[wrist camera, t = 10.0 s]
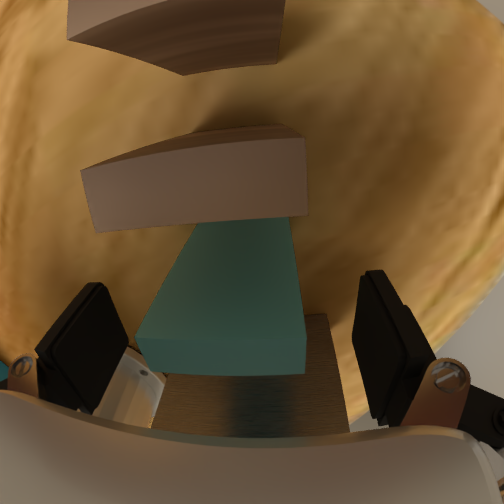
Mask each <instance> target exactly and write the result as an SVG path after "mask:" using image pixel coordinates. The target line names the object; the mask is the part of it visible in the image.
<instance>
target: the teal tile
mask: <svg viewBox="0 0 504 504" xmlns="http://www.w3.org/2000/svg"><path fill="white" fill-rule="evenodd" d="M134 338H135V340H136V342H137V345H138V347H139V349H140V351H141V353H142V355H143V357H144V359H145V361H146V363H147V365H148V367H149V369H150V371H152V372H163V373H175V374H191V375H217V376H264V375H289V374H305V361H306V340H307V336H306V329H305V321H304V314H303V306H302V299H301V292H300V286H299V279H298V272H297V266H296V260H295V253H294V247H293V241H292V235H291V229H290V223H289V218H288V217H276V218H260V219H245V220H231V221H217V222H205V223H198V224H197V226H196V227H195V229H194V231H193V232H192V234H191V236H190V237H189V239H188V241H187V242H186V244H185V246H184V248H183V249H182V251H181V253H180V254H179V256H178V258H177V260H176V261H175V263H174V265H173V267H172V268H171V270H170V272H169V274H168V275H167V277H166V279H165V281H164V282H163V284H162V286H161V288H160V290H159V291H158V293H157V295H156V297H155V299H154V301H153V302H152V304H151V306H150V308H149V310H148V312H147V314H146V315H145V317H144V319H143V321H142V323H141V325H140V327H139V329H138V331H137V333H136V335H135V337H134Z"/></svg>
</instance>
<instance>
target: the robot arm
mask: <svg viewBox="0 0 504 504" xmlns="http://www.w3.org/2000/svg"><path fill="white" fill-rule="evenodd" d="M128 343H129V340H128V336H127V334H126V332H125V329H124V327H123V325H122V323H121V320H120V318H119V316H118V313H117V311H116V309H115V306H114V304H113V301H112V299H111V296H110V294H109V291H108V289H107V287H106V286H104V285H103V284H102V283H101V282H90V283H87V284H86V285H85V287H84V288H83V289H82V290H81V291H80V292H79V294H78V295H77V296H76V297H75V298H74V299H73V301H72V302H71V303H70V304H69V305H68V307H67V308H66V309H65V310H64V312H63V313H62V314H61V315H60V316H59V318H58V319H57V320H56V322H55V323H54V324H53V325H52V327H51V328H50V329H49V330H48V332H47V333H46V334H45V336H44V337H43V338H42V340H41V341H40V342H39V344H38V345H37V346H36V348H35V349H34V350H35V351H36V353H37V354H38V356H39V358H38V359H36V358H35V356H34V355H33V354H30V353H26V354H22V355H20V356H18V357H17V358H16V359H15V360H14V361H13V362H12V363H11V365H10V367H9V370H8V378H6V379H4V380H2V381H0V504H504V399H503V398H501V397H498V396H496V395H494V394H491V393H489V392H487V391H484V390H482V389H480V388H477V387H475V386H473V385H471V384H470V383H471V377H470V373H469V371H468V369H467V368H466V367H465V366H464V365H463V364H462V363H461V362H459V361H457V360H455V359H451V358H440V359H436V357H435V355H434V353H433V351H432V349H431V347H430V345H429V343H428V341H427V339H426V337H425V335H424V333H423V332H422V330H421V328H420V326H419V324H418V322H417V321H416V319H415V317H414V315H413V314H412V312H411V310H410V308H409V307H408V306H407V305H403V303H402V301H401V299H400V298H399V296H398V294H397V292H396V291H395V289H394V287H393V286H392V284H391V282H390V281H389V279H388V277H387V276H386V274H385V272H384V271H383V270H371V271H366V273H365V275H362V276H361V277H360V283H359V291H358V298H357V306H356V312H355V319H354V325H353V331H352V343H353V347H354V350H355V354H356V357H357V361H358V365H359V369H360V372H361V376H362V380H363V384H364V388H365V392H366V396H367V400H368V404H369V409H370V413H371V416H372V418H373V419H376V418H377V421H378V426H384V425H389V428H382V429H374V430H366V431H358V432H352V433H342V434H333V435H322V436H308V437H289V438H234V437H217V436H204V435H193V434H184V433H176V432H169V431H162V430H156V429H150V428H148V425H149V422H150V419H151V417H154V416H155V413H156V410H157V407H158V404H159V401H160V398H161V395H162V392H163V389H164V386H165V383H166V380H167V379H166V377H165V376H164V375H163V373H162V372H152V371H150V369H149V367H148V365H147V363H146V361H145V359H144V357H143V356H142V355H141V354H139V353H138V352H136V351H135V350H133V349H131V348H129V347H128Z"/></svg>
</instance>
